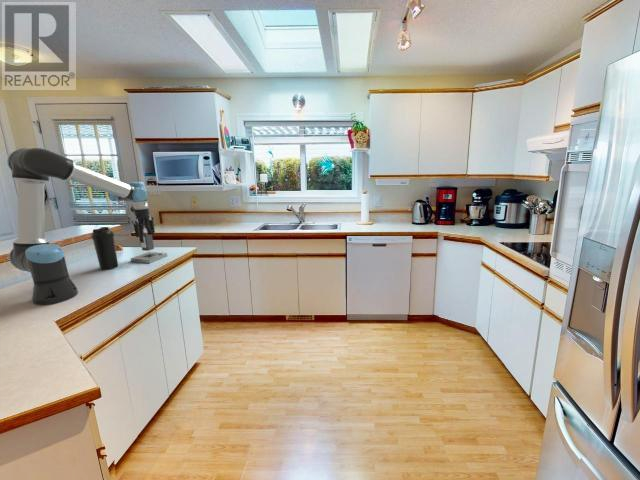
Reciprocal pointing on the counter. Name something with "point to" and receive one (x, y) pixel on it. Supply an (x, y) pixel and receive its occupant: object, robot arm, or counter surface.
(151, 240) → the plug
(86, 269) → the counter surface
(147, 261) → the socket
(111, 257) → the water bottle
